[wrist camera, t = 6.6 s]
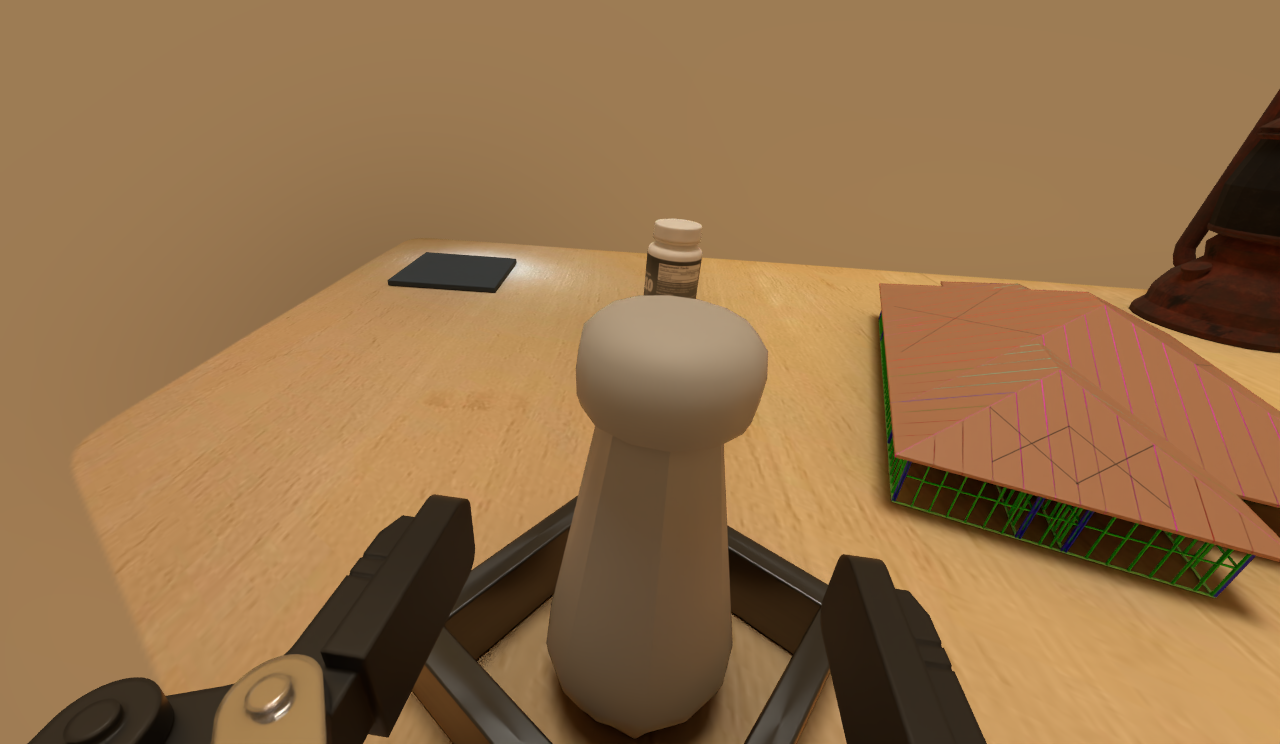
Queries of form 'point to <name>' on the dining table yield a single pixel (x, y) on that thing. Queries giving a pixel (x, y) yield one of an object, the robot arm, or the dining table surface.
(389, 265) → the dining table surface
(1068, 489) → the house
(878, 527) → the dining table surface
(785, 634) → the holder stand
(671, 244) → the pill bottle
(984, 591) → the dining table surface
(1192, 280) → the lantern
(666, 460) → the salt shaker
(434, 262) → the mat
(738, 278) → the dining table surface
